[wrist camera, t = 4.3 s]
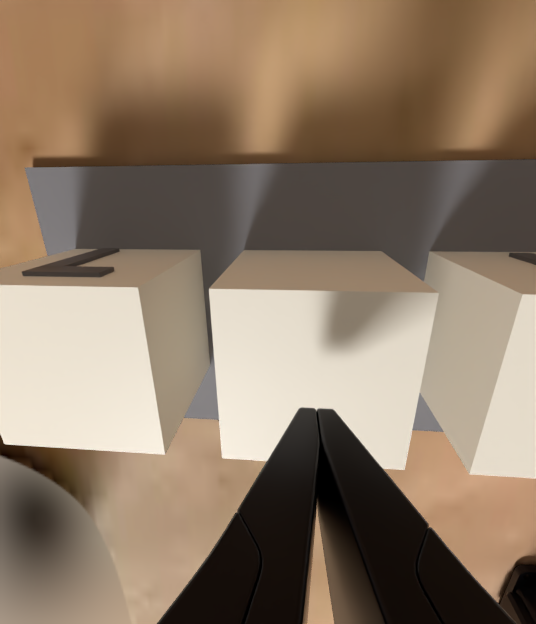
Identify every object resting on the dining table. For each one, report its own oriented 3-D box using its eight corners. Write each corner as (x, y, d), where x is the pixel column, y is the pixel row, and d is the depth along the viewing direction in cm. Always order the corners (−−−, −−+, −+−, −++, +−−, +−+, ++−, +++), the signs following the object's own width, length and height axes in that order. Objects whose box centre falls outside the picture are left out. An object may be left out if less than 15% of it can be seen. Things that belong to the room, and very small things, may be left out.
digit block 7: (200, 246, 14) (136, 282, 9) (210, 365, 16) (165, 454, 11) (74, 245, 15) (-61, 279, 9) (100, 360, 17) (4, 444, 11)
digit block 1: (582, 248, 13) (800, 293, 7) (537, 377, 15) (677, 487, 10) (429, 247, 13) (524, 288, 8) (408, 372, 16) (469, 474, 10)
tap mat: (647, 158, 12) (658, 157, 12) (542, 431, 17) (548, 437, 16) (31, 168, 14) (24, 167, 14) (92, 408, 19) (88, 412, 18)
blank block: (381, 251, 14) (438, 292, 8) (366, 371, 16) (404, 469, 10) (243, 250, 14) (208, 288, 9) (248, 366, 16) (222, 458, 11)
